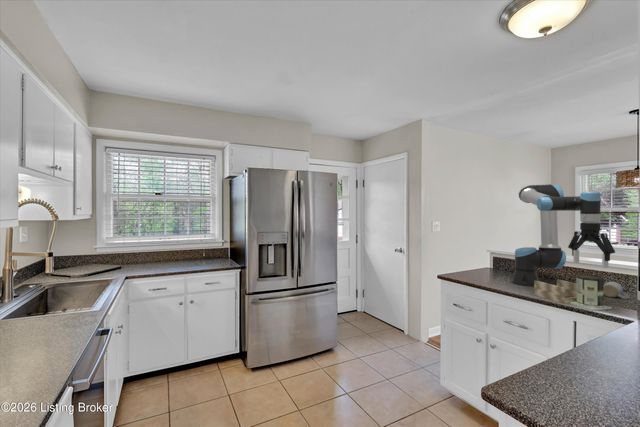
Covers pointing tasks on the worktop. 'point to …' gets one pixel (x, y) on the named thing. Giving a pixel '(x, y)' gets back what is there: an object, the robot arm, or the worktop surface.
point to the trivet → (591, 307)
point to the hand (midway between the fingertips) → (590, 265)
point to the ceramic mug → (614, 290)
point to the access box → (557, 291)
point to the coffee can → (590, 290)
